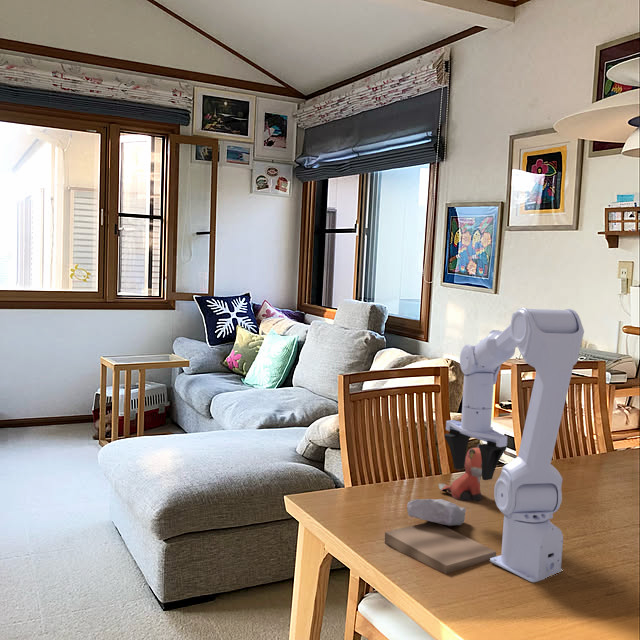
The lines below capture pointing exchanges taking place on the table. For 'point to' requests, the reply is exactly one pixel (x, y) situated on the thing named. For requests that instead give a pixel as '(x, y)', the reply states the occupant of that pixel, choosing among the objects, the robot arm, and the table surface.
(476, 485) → the stuffed fox
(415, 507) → the stone block
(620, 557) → the table surface
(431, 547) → the walnut base
